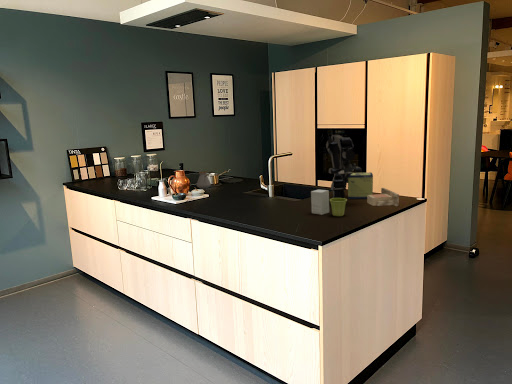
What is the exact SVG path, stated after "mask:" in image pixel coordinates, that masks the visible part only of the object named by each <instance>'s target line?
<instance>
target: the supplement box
mask: <svg viewBox="0 0 512 384" xmlns="http://www.w3.org/2000/svg"><path fill="white" fill-rule="evenodd" d="M329 193H330V191H329V190H326V189H316V190H311V191H310V203H311V214H313V215H314V214H315V215H320V216H321V215H325V214H328V213H330V195H329Z"/></svg>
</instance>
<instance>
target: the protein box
mask: <svg viewBox="0 0 512 384" xmlns="http://www.w3.org/2000/svg"><path fill="white" fill-rule="evenodd" d="M351 173H352V174H350V176H349V177H348V180H347V200H348V199H349V200H361V199H362V200H367V195H374V193H373V190H374V187H373V186H374V185H373V184H374V175H373V172H351Z"/></svg>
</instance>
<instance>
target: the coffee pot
mask: <svg viewBox="0 0 512 384" xmlns="http://www.w3.org/2000/svg"><path fill="white" fill-rule="evenodd" d="M213 172H215V171H214V170H211V171H210V172H208V173H207V171H199V172H198V173H199V177H198V180H197V182H196V187H197V188H198V189H199V190H200V189H201V190H202V189H203V190H204V189H205V190H206V189H209V187H211V186H212V185H211V184H212V183H211V181H210V179H209V177H208V176H209V175H210V174H213Z"/></svg>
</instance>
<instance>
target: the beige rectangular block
mask: <svg viewBox="0 0 512 384" xmlns="http://www.w3.org/2000/svg"><path fill="white" fill-rule="evenodd" d="M378 201H392V196H390V195H388V194H381V193H380V194H379V193H377V194H373V195H367V199H366V202H367V204H369V205H371V206H372V207H373V206H374V207H375V206H376V207H378V206H377V202H378Z"/></svg>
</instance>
